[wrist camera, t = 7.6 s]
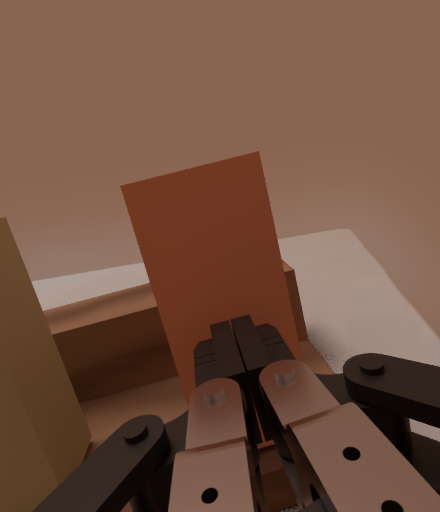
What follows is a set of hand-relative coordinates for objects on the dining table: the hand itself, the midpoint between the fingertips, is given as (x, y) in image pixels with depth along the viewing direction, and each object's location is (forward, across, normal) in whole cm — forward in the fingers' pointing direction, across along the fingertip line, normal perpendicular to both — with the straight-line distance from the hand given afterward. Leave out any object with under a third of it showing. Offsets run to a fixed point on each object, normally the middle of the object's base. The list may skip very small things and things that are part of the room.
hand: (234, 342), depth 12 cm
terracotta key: (+3, 0, +6) cm, 6 cm away
